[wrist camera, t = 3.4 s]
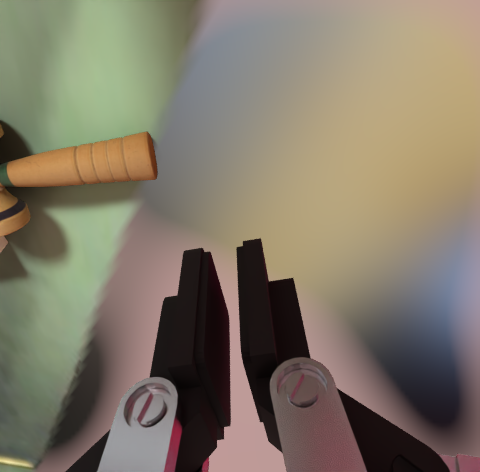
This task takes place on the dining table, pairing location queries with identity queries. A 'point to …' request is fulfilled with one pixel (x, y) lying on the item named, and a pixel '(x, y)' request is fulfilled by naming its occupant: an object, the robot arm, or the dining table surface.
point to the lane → (3, 243)
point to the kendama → (74, 171)
